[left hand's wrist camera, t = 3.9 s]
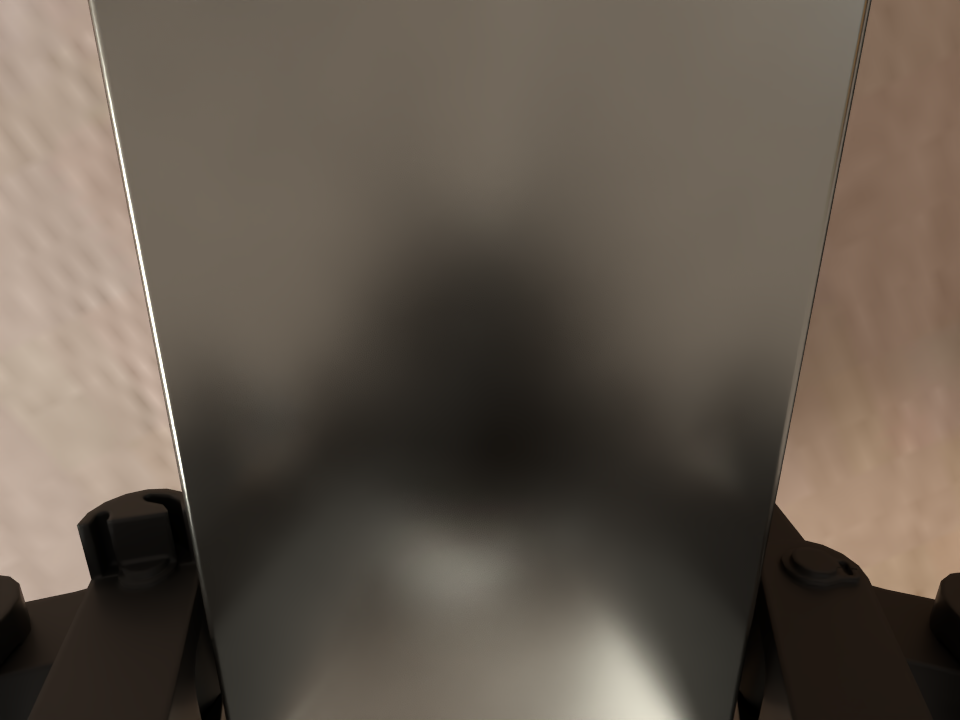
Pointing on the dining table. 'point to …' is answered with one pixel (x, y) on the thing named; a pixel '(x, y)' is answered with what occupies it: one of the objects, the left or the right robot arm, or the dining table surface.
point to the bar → (479, 334)
